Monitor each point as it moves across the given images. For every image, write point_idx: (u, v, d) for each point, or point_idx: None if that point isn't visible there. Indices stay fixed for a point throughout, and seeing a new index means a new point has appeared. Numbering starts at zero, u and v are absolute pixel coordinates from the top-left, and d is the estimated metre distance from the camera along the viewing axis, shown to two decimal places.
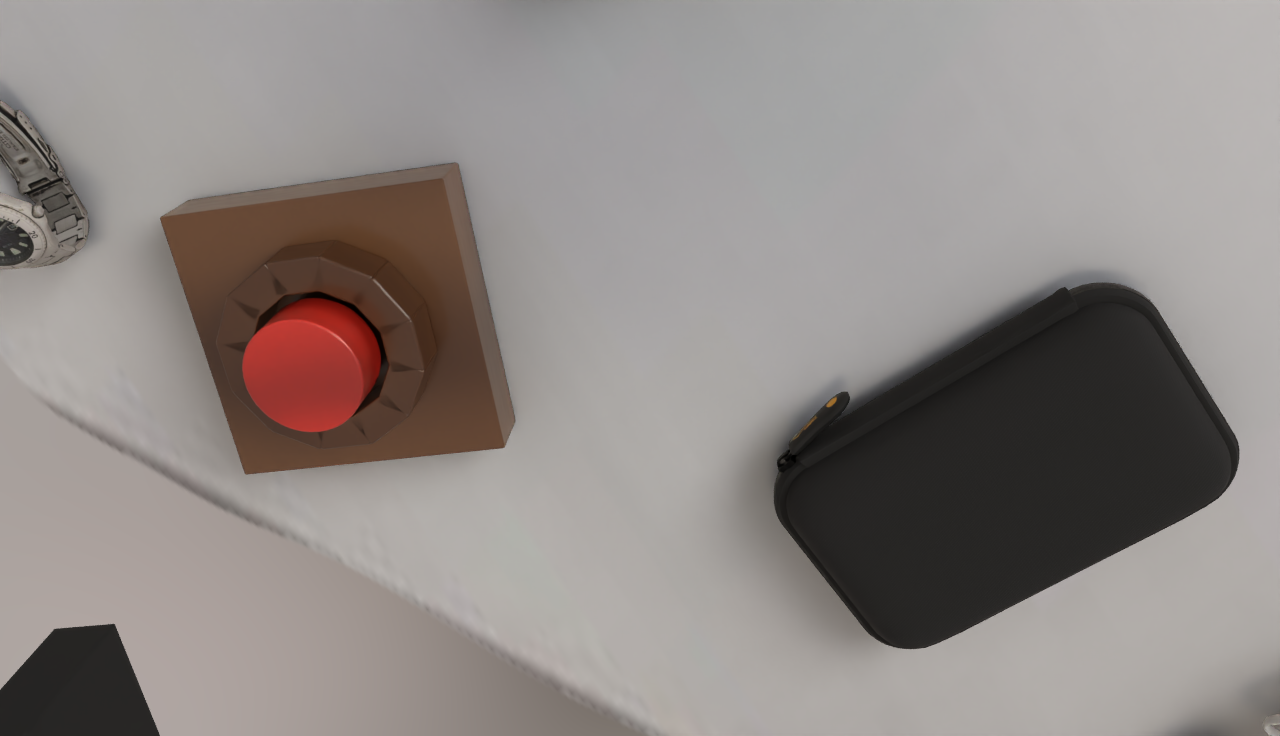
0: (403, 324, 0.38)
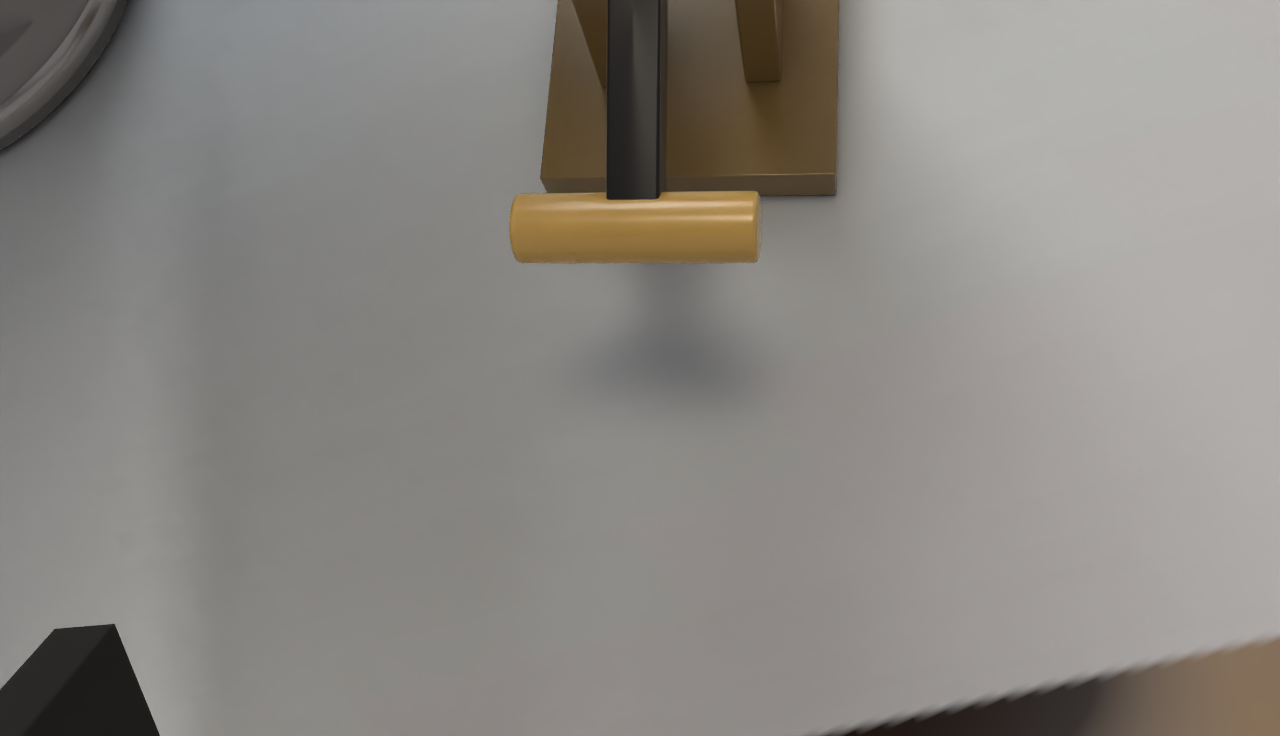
0: None
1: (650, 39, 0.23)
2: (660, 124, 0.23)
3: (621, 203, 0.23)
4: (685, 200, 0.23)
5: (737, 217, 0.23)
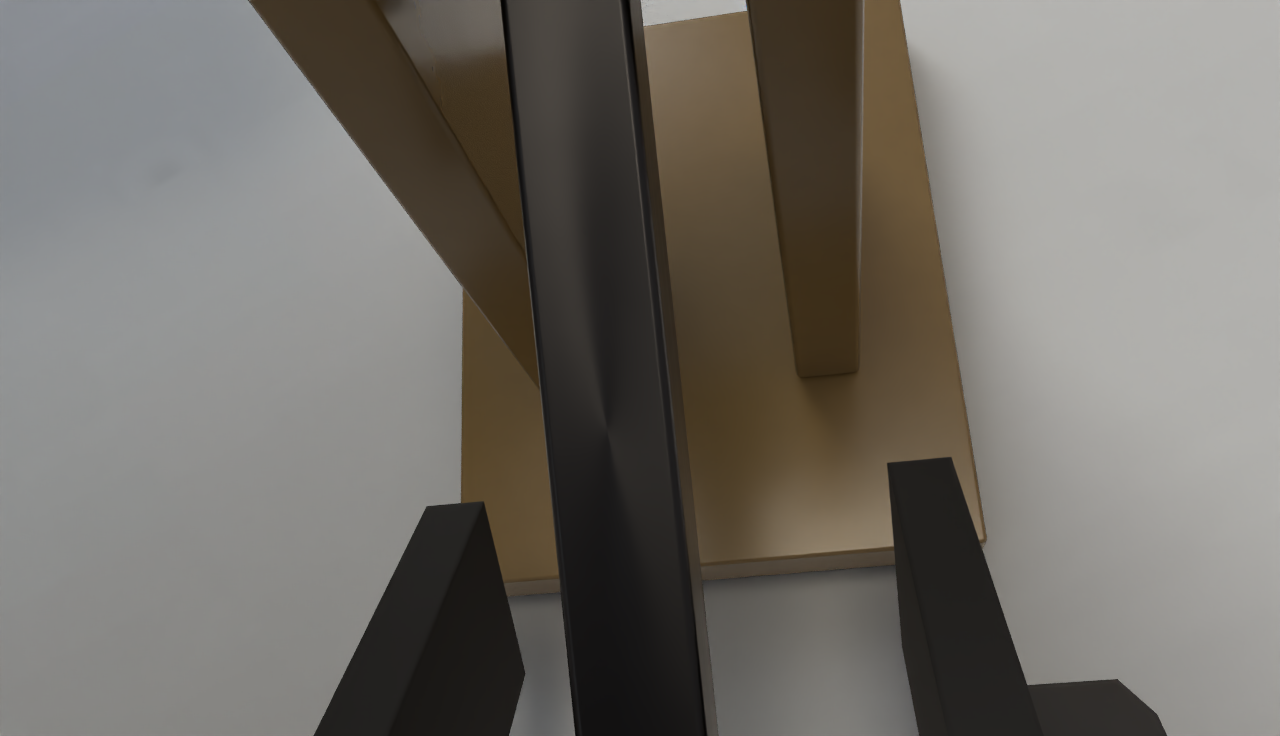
0: None
1: (655, 501, 0.09)
2: (702, 697, 0.10)
3: None
4: None
5: None
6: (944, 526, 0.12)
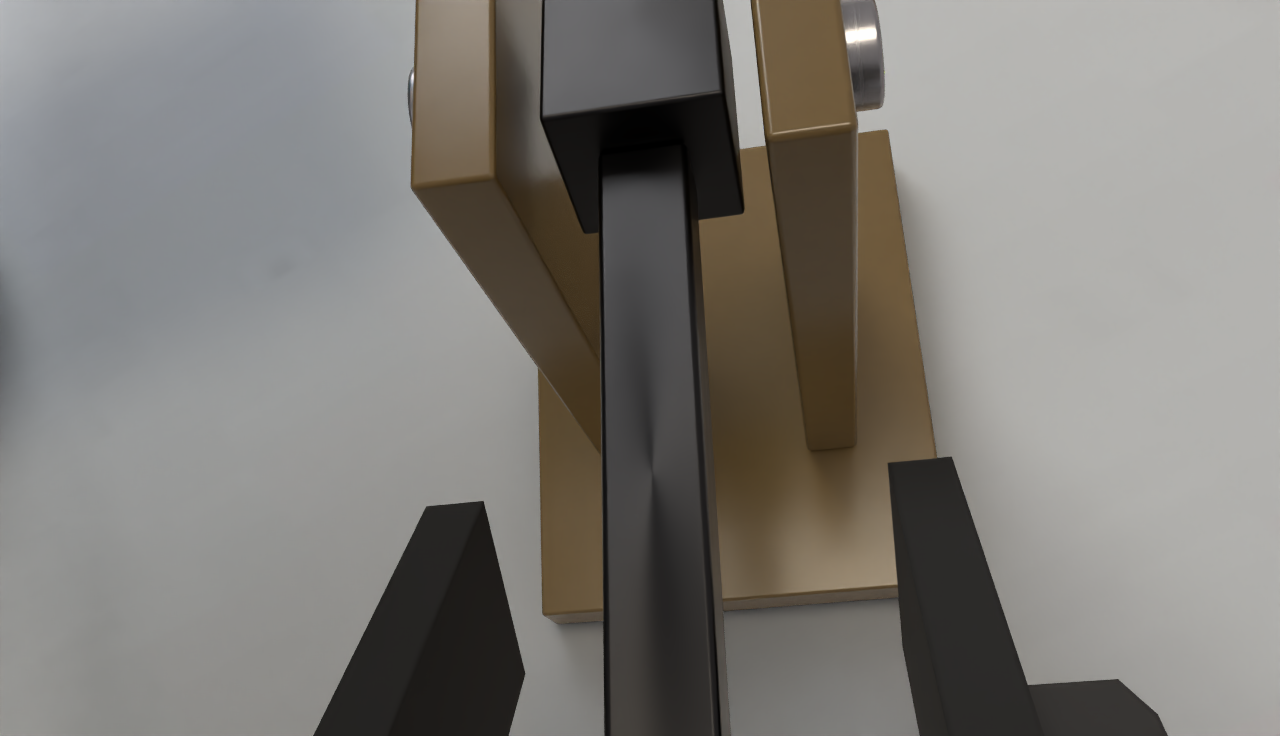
0: None
1: (687, 526, 0.12)
2: (719, 696, 0.11)
3: None
4: None
5: None
6: (945, 525, 0.12)
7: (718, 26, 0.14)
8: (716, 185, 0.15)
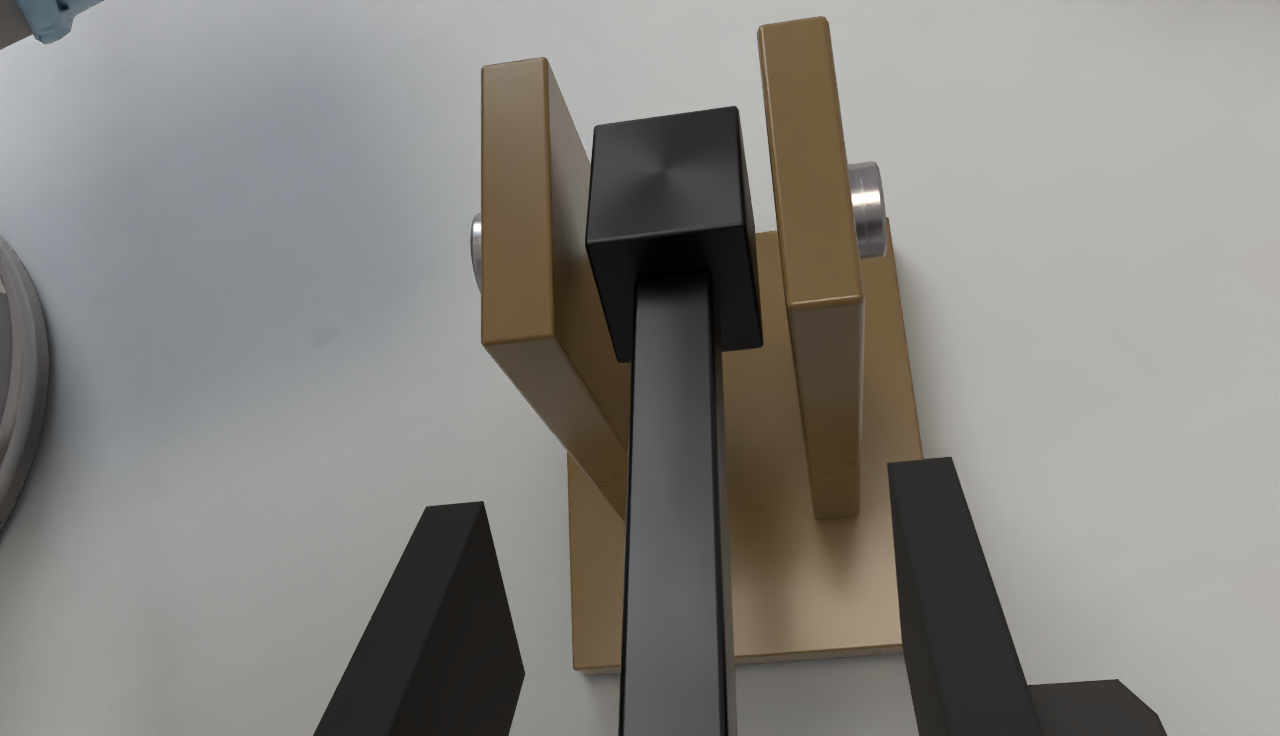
0: None
1: (703, 573, 0.12)
2: (728, 721, 0.11)
3: None
4: None
5: None
6: (944, 525, 0.12)
7: (741, 176, 0.16)
8: (738, 316, 0.16)
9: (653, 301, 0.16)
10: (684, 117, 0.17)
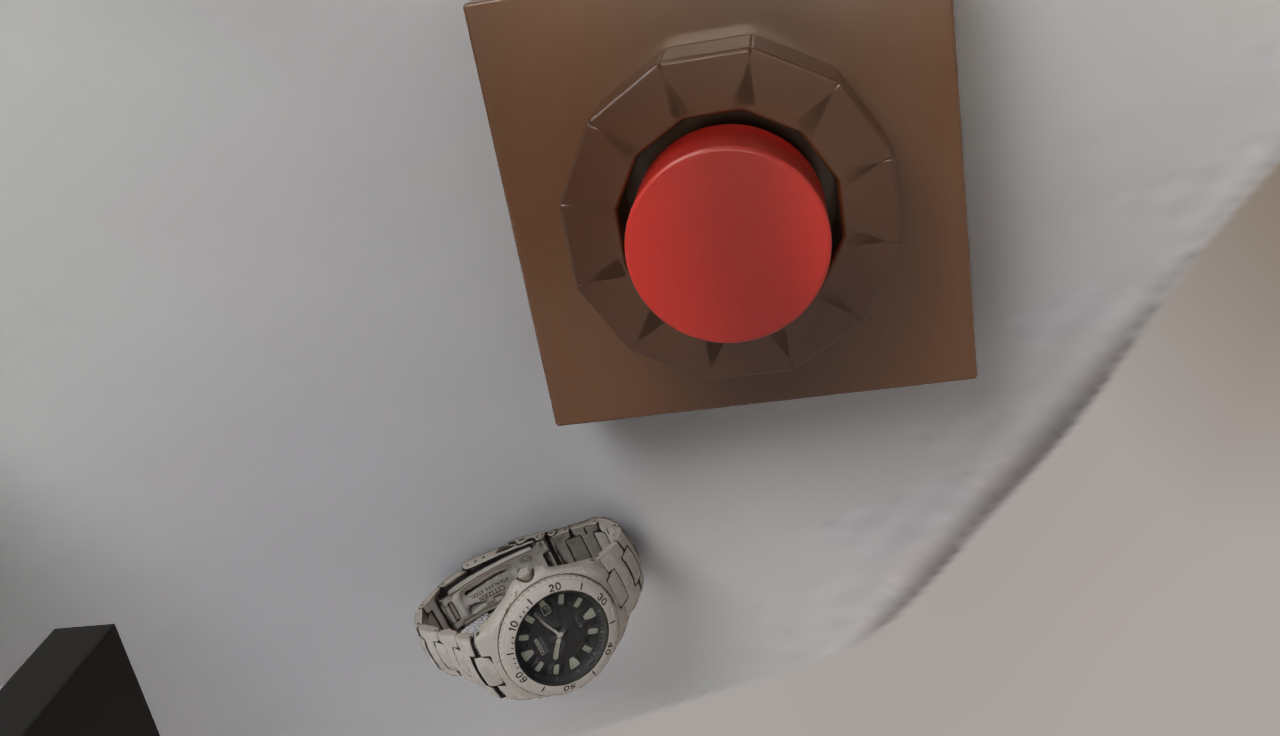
0: (666, 77, 0.23)
1: None
2: None
3: None
4: None
5: None
6: None
7: None
8: None
9: None
10: None
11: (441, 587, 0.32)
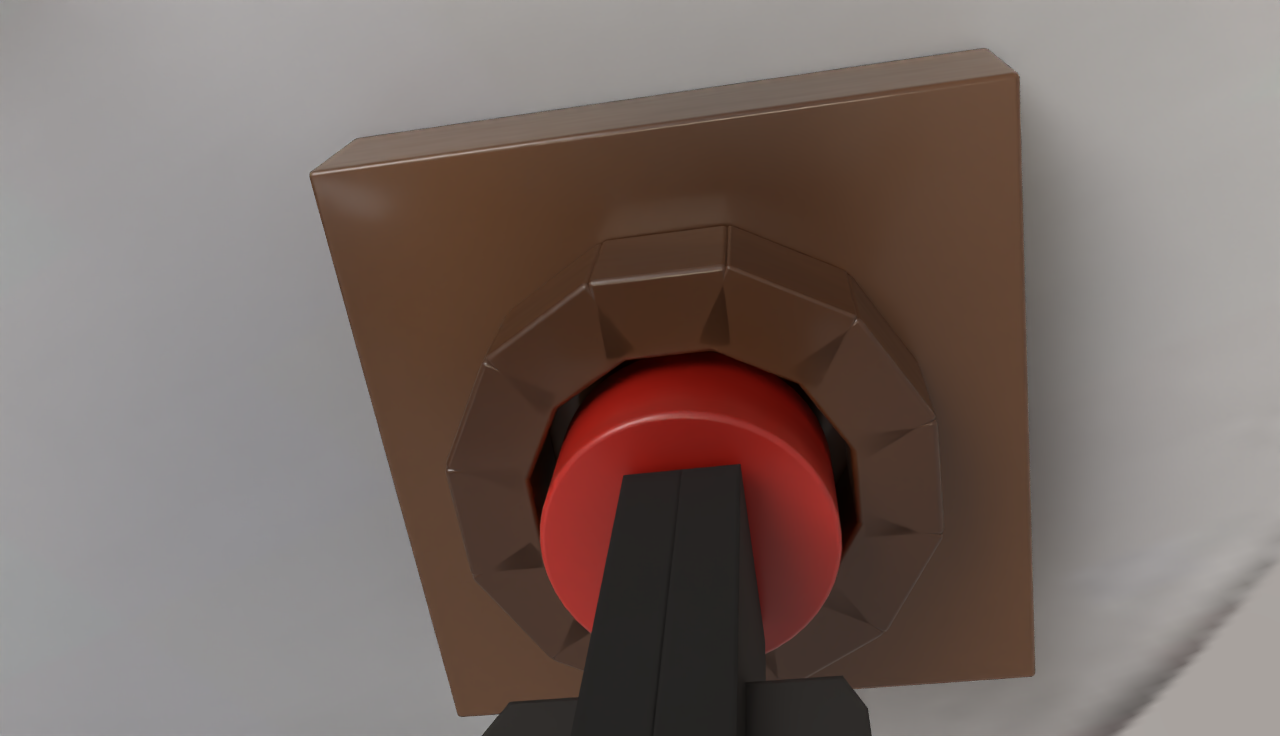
0: (599, 303, 0.15)
1: None
2: None
3: None
4: None
5: None
6: (712, 531, 0.13)
7: None
8: None
9: None
10: None
11: None
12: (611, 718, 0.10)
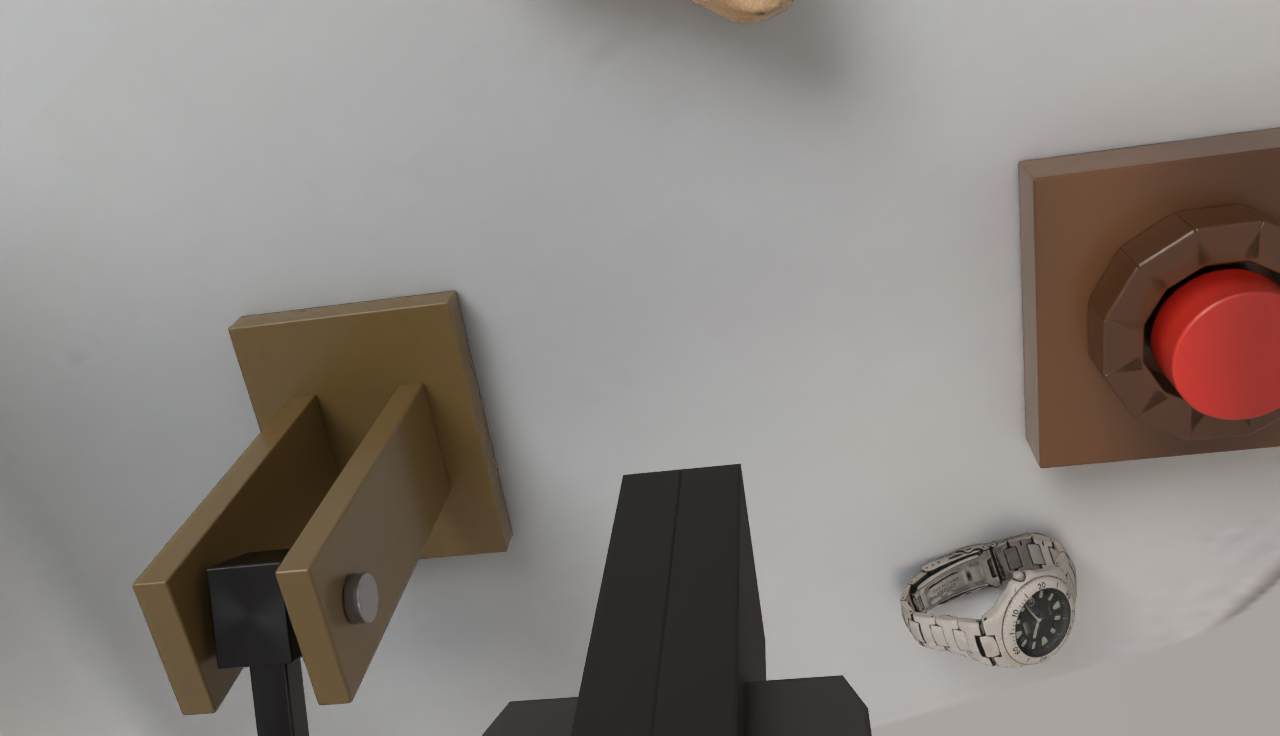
0: (1199, 238, 0.33)
1: None
2: None
3: None
4: None
5: None
6: (712, 530, 0.13)
7: (287, 624, 0.31)
8: None
9: (259, 679, 0.32)
10: (253, 569, 0.31)
11: (911, 584, 0.42)
12: (611, 718, 0.10)
